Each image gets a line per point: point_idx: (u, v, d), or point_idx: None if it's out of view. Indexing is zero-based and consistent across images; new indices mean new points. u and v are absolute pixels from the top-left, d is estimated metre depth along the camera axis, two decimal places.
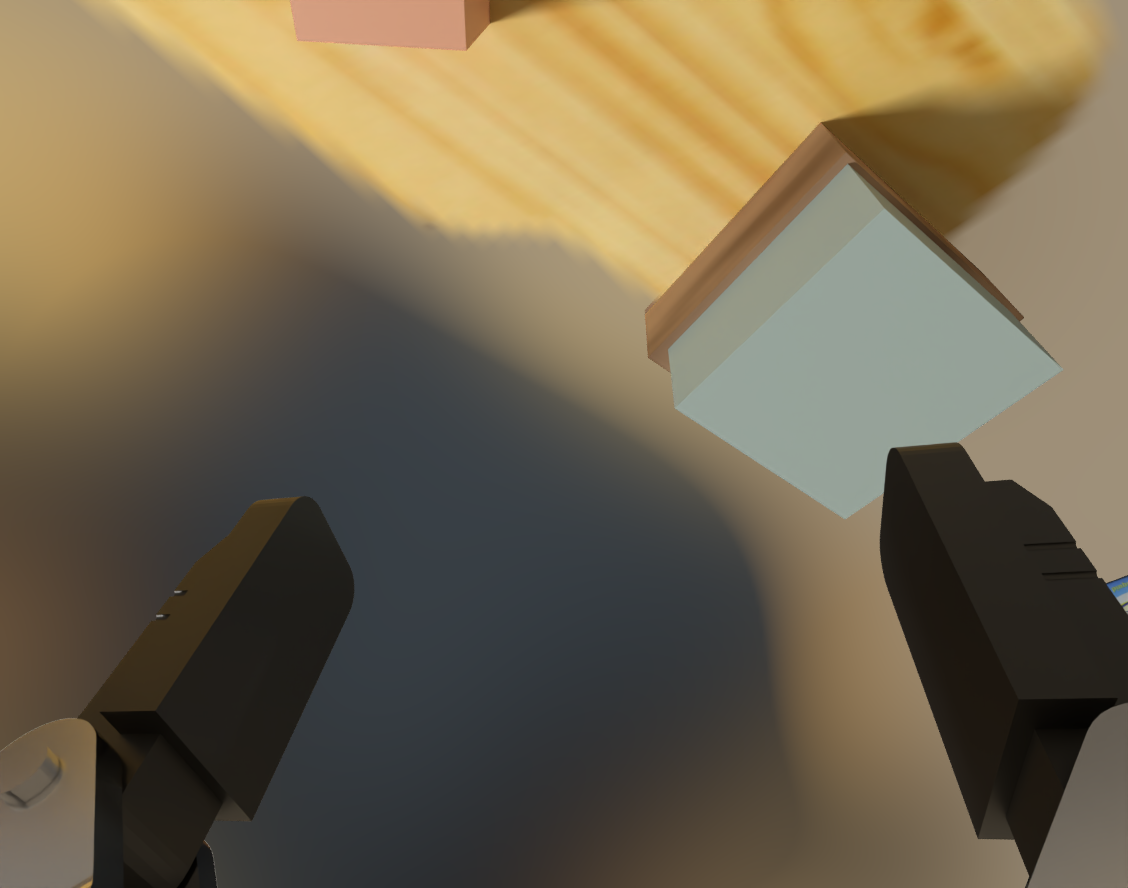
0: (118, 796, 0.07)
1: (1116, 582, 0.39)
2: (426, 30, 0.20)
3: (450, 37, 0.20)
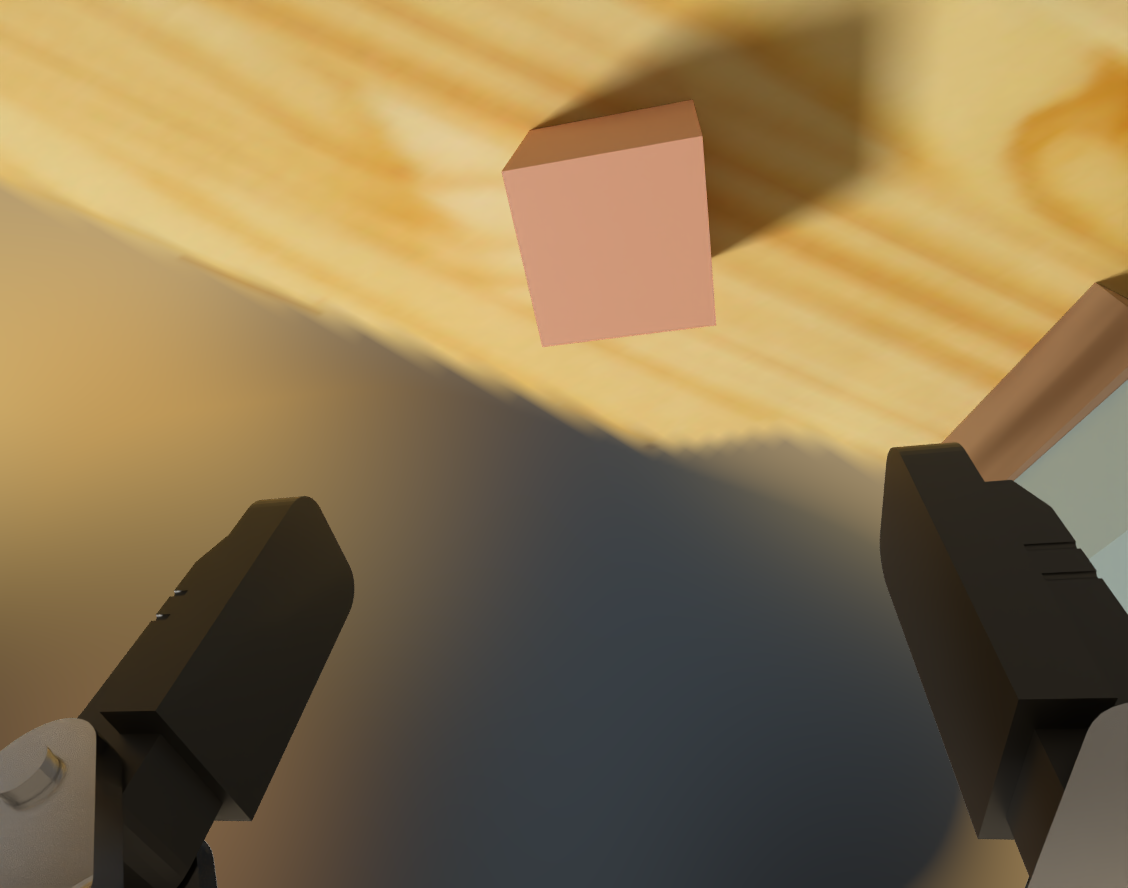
0: (118, 796, 0.07)
1: None
2: (674, 315, 0.19)
3: (699, 316, 0.19)
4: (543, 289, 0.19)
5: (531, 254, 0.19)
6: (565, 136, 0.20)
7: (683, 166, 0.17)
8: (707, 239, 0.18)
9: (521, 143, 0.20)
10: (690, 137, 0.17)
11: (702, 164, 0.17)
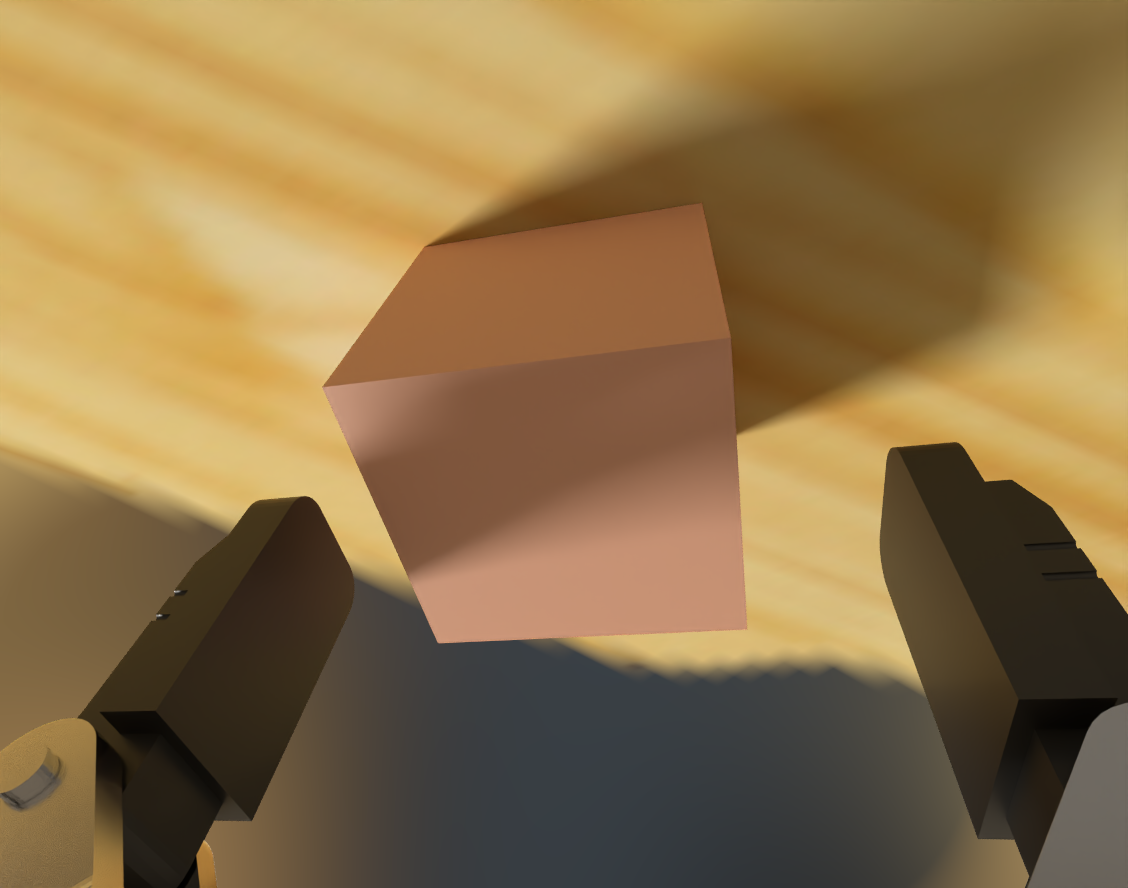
0: (118, 796, 0.07)
1: None
2: (670, 613, 0.10)
3: (716, 616, 0.10)
4: (429, 568, 0.10)
5: (400, 516, 0.10)
6: (472, 279, 0.11)
7: (691, 389, 0.08)
8: (735, 508, 0.09)
9: (396, 286, 0.11)
10: (705, 338, 0.08)
11: (729, 387, 0.08)
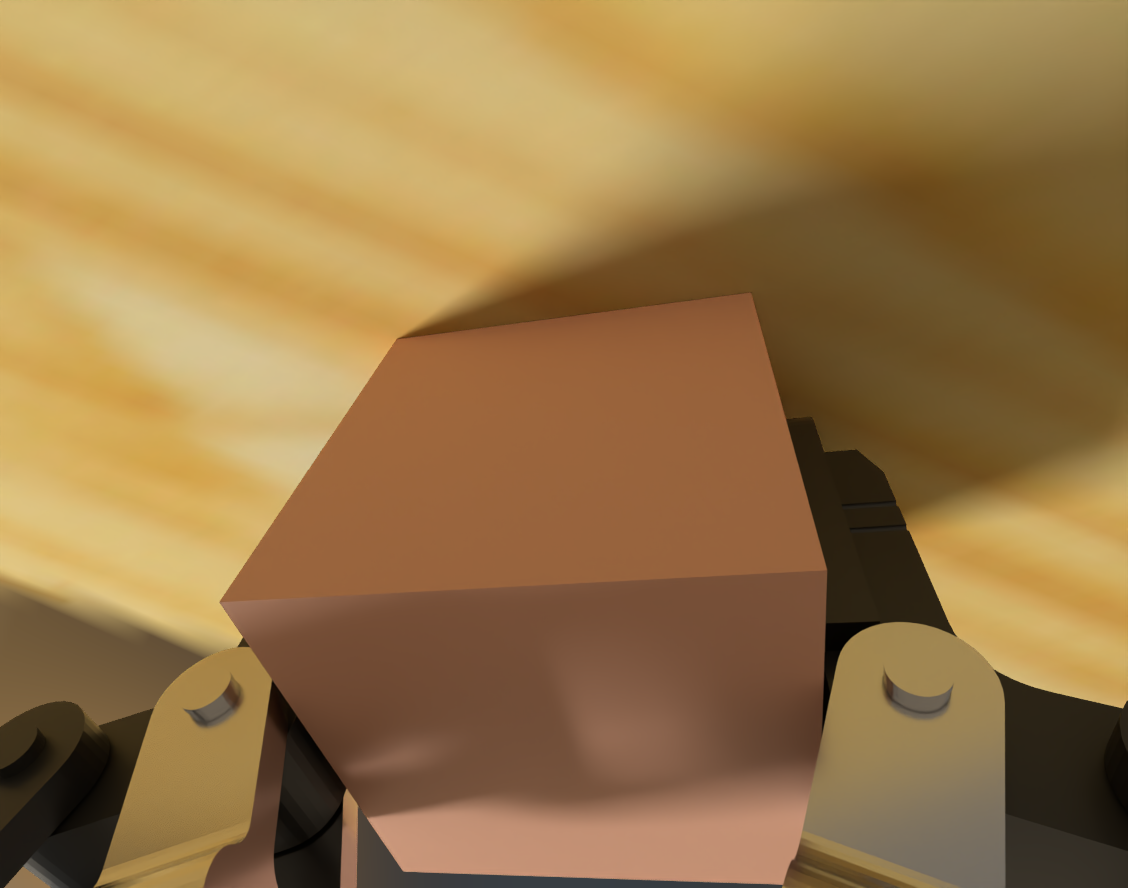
0: (295, 718, 0.07)
1: None
2: (713, 863, 0.08)
3: (775, 870, 0.08)
4: (386, 801, 0.08)
5: (344, 745, 0.07)
6: (449, 405, 0.08)
7: (759, 630, 0.05)
8: (814, 764, 0.06)
9: (351, 408, 0.08)
10: (785, 565, 0.05)
11: (818, 629, 0.05)
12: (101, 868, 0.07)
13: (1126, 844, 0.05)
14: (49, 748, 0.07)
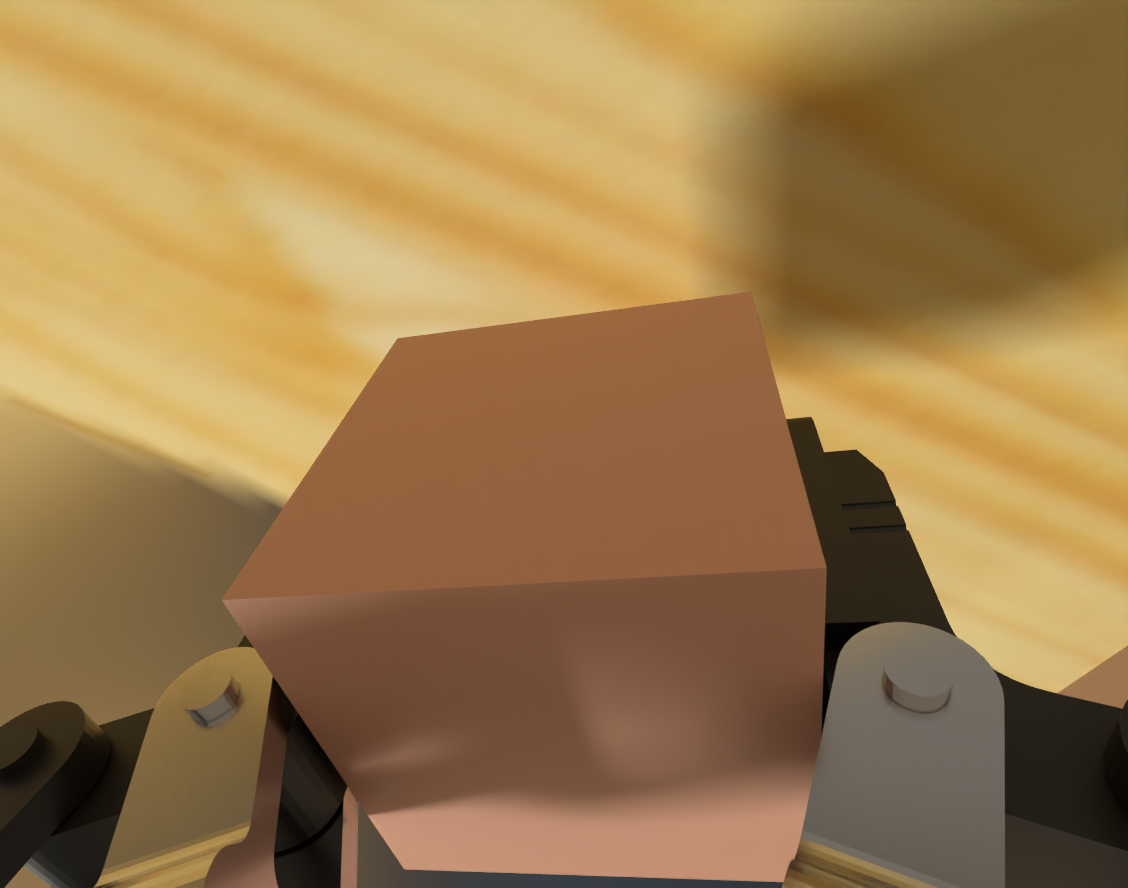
0: (296, 718, 0.07)
1: None
2: (711, 860, 0.08)
3: (775, 868, 0.08)
4: (387, 799, 0.08)
5: (345, 743, 0.07)
6: (449, 404, 0.08)
7: (759, 626, 0.05)
8: (813, 762, 0.06)
9: (352, 407, 0.08)
10: (785, 563, 0.05)
11: (818, 627, 0.05)
12: (102, 868, 0.07)
13: (1126, 844, 0.05)
14: (50, 748, 0.07)
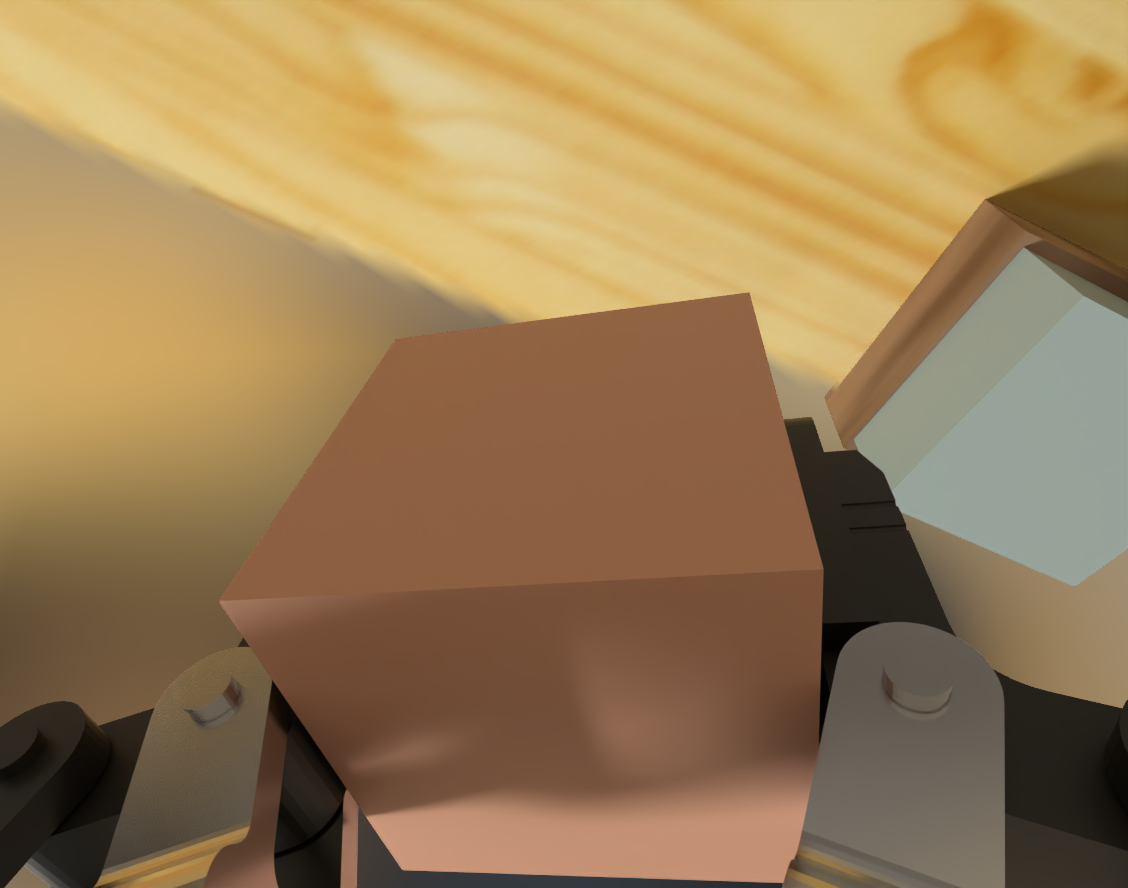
0: (295, 718, 0.07)
1: None
2: (710, 861, 0.08)
3: (773, 869, 0.08)
4: (385, 800, 0.08)
5: (343, 744, 0.07)
6: (447, 405, 0.08)
7: (756, 627, 0.05)
8: (811, 763, 0.06)
9: (350, 408, 0.08)
10: (782, 565, 0.05)
11: (815, 628, 0.05)
12: (102, 868, 0.07)
13: (1125, 844, 0.05)
14: (49, 748, 0.07)
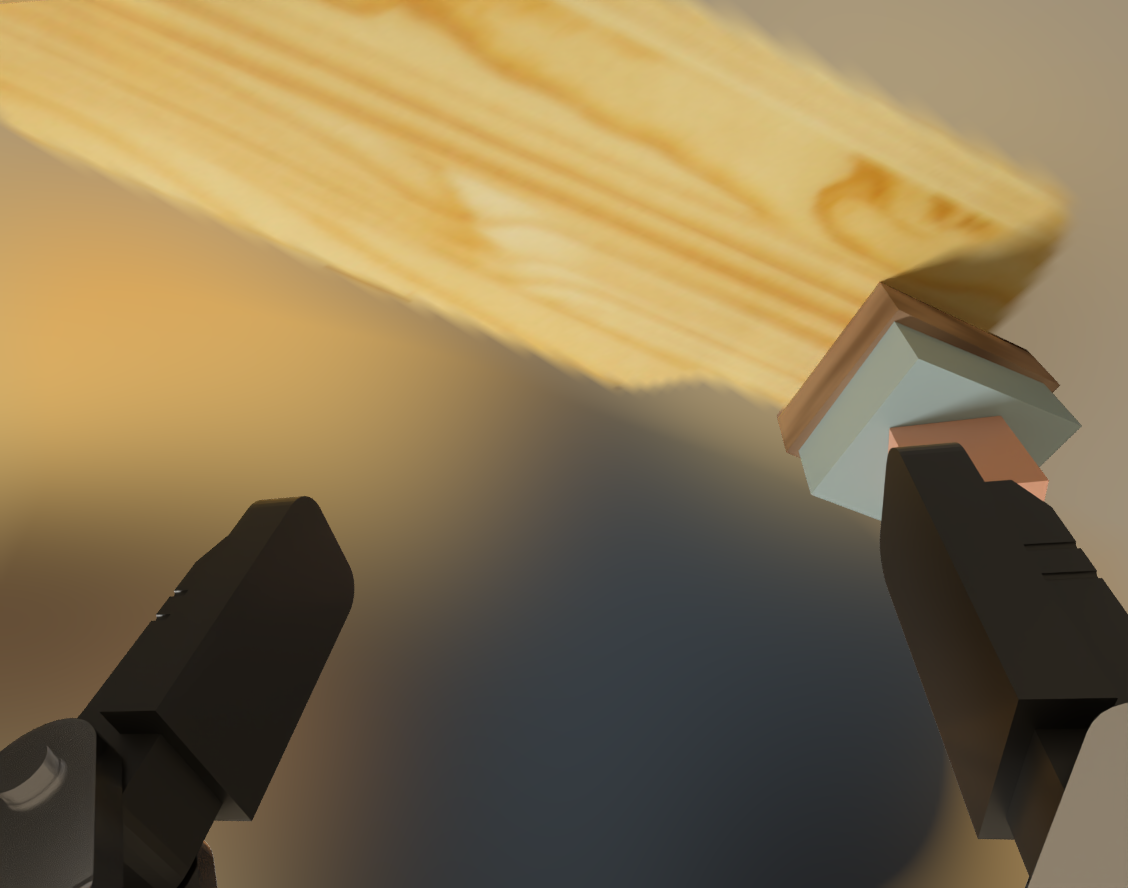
0: (119, 796, 0.07)
1: None
2: None
3: None
4: None
5: None
6: None
7: (1033, 493, 0.29)
8: None
9: None
10: (1040, 480, 0.29)
11: (1044, 492, 0.29)
12: None
13: None
14: None
